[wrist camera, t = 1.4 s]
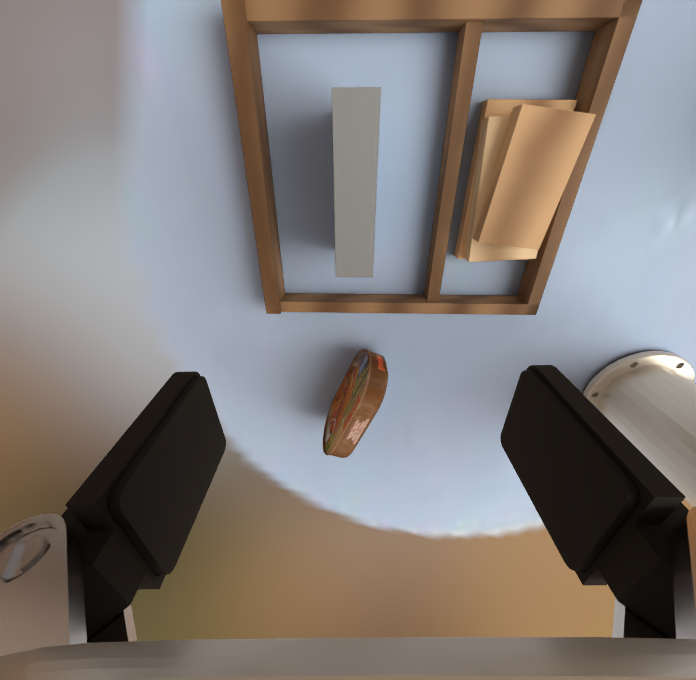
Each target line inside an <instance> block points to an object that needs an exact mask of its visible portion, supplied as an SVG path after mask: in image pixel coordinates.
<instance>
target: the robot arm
mask: <svg viewBox="0 0 696 680" xmlns="http://www.w3.org/2000/svg"><path fill="white" fill-rule="evenodd" d="M501 444H502V447H503V449H504V451H505V452H506V454H507V456H508V458H509V460H510V462H511V464H512V465H513V467H514V469H515V471H516V473H517V475H518V477H519V478H520V480H521V482H522V484H523V486H524V488H525V489H526V491H527V493H528V495H529V497H530V499H531V501H532V502H533V504H534V506H535V508H536V510H537V512H538V514H539V515H540V517H541V519H542V521H543V523H544V525H545V527H546V528H547V530H548V532H549V534H550V536H551V538H552V540H553V541H554V543H555V545H556V547H557V549H558V551H559V553H560V554H561V556H562V558H563V560H564V562H565V563H566V565H567V566H568V567H569V568H570V569H571V570H574V571H575V572H576V574H577V575H578V577H579V579H580V581H581V582H582V584H583V585H607V584H608V586H609V587H610V589H611V590H612V592H613V594H614V596H615V609H614V623H613V635H612V637H611V638H609V637H608V638H607V637H545V638H544V637H530V638H529V637H509V638H508V637H505V638H504V637H503V638H502V637H497V638H496V637H495V638H494V637H490V638H489V637H488V638H486V637H481V638H479V637H476V638H475V637H464V638H463V637H462V638H315V639H313V638H312V639H311V638H310V639H228V640H226V639H225V640H224V639H223V640H163V641H162V640H161V641H137V638H136V632H135V626H134V620H133V615H132V609H131V602H132V600H133V598H134V596H135V594H136V592H137V590H138V589H160V587H161V584H162V582H163V580H164V577H165V575H167V574H170V573H171V572H172V570H173V569H174V567H175V565H176V563H177V560H178V558H179V556H180V554H181V551H182V549H183V547H184V544H185V542H186V540H187V537H188V535H189V532H190V530H191V528H192V526H193V523H194V521H195V519H196V516H197V514H198V511H199V509H200V507H201V504H202V502H203V500H204V498H205V495H206V493H207V491H208V488H209V486H210V484H211V481H212V479H213V477H214V474H215V472H216V470H217V467H218V465H219V463H220V460H221V458H222V456H223V453H224V451H225V447H226V439H225V436H224V433H223V430H222V427H221V424H220V421H219V418H218V415H217V412H216V409H215V406H214V402H213V399H212V396H211V393H210V390H209V387H208V384H207V381H206V379H205V378H204V377H203V376H200V374H199V373H198V372H176V373H174V374H173V375H172V376H171V377H170V378H169V380H168V381H167V382H166V383H165V385H164V386H163V387H162V388H161V389H160V391H159V392H158V393H157V394H156V395H155V397H154V398H153V399H152V400H151V402H150V403H149V404H148V405H147V406H146V408H145V409H144V410H143V411H142V412H141V414H140V415H139V416H138V417H137V419H136V420H135V421H134V422H133V423H132V425H131V426H130V427H129V428H128V429H127V431H126V432H125V433H124V434H123V436H122V437H121V438H120V439H119V441H118V442H117V443H116V444H115V445H114V447H113V448H112V449H111V450H110V451H109V452H108V454H107V455H106V456H105V457H104V459H103V460H102V461H101V462H100V463H99V465H98V466H97V467H96V468H95V470H94V471H93V472H92V473H91V474H90V476H89V477H88V478H87V479H86V480H85V482H84V483H83V484H82V485H81V487H80V488H79V489H78V490H77V491H76V493H75V494H74V495H73V496H72V497H71V499H70V500H69V501H68V502H67V504H66V506H67V507H68V509H67V510H66V511H65V512H64V513H63V515H62V516H61V517H60V516H59V515H57V514H44V515H39V516H34V517H32V518H29V519H27V520H24V521H22V522H20V523H18V524H16V525H14V526H13V527H11V528H9V529H8V530H6V531H4V532H3V533H2V534H0V680H696V383H694V371H693V368H692V366H691V365H690V364H689V363H688V362H687V361H686V360H684V359H683V358H681V357H679V356H678V355H675V354H673V353H670V352H665V351H646V352H640V353H636V354H633V355H629V356H627V357H624V358H622V359H619V360H617V361H615V362H614V363H612V364H610V365H608V366H607V367H606V368H604V369H603V370H601V371H600V372H599V373H598V374H597V375H596V376H595V377H594V378H593V379H592V380H591V381H590V383H589V384H588V385H587V387H586V389H585V391H584V393H583V394H582V393H581V392H580V391H579V390H578V389H577V388H576V387H575V386H574V385H573V384H572V383H571V382H570V381H569V380H568V379H567V378H566V377H565V376H564V375H563V374H562V373H561V372H560V371H559V370H558V369H557V368H556V367H554V366H552V365H532V366H529V367H528V368H527V370H526V371H523V372H522V373H521V375H520V378H519V381H518V384H517V387H516V390H515V393H514V396H513V399H512V402H511V405H510V408H509V411H508V414H507V417H506V420H505V424H504V427H503V430H502V433H501ZM684 499H685V500H686V501H687V502H688V503H689V504H690V505H691V506H692V507H693V508H692V509H691V510H688V509H687V508H686V507H685V506H684V505H683V504H682V503H681V502H682V501H683V500H684Z"/></svg>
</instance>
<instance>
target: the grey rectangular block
mask: <svg viewBox="0 0 696 680" xmlns="http://www.w3.org/2000/svg"><path fill="white" fill-rule="evenodd" d="M380 94H381V87H359V88H332V115H333V165H334V215H335V265H336V277H373V259H374V235H375V212H376V188H377V165H378V141H379V118H380Z"/></svg>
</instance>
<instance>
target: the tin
mask: <svg viewBox="0 0 696 680" xmlns="http://www.w3.org/2000/svg"><path fill="white" fill-rule="evenodd" d="M387 381H388V371H387V366H386V361H385V359H384V357H383V356H381V355H379V354H376V353H373V352H370V351H368V350H367V349H363V350H361V351H360V352H359V353H358V354H357V355H356V357H355V358H354V360H353V362H352V364H351V366H350V368H349V370H348V372H347V374H346V376H345V378H344V380H343V382H342V384H341V386H340V388H339V390H338V392H337V394H336V395H335V397H334V399H333V402H332V404H331V406H330V409H329V412H328V415H327V419H326V423H325V428H324V435H323V451H324V453H325V454H326V455H332V456H337V457H342V458H345V457H348V456H349V455H350V454H351V453H352V452H353V450H354V449H355V447H356V445H357V444H358V442H359V441H360V439H361V437H362V436H363V434H364V432H365V431H366V429H367V428H368V426H369V424H370V423H371V421H372V419H373V418H374V416H375V414H376V413H377V411H378V409H379V407H380V405H381V403H382V401H383V398H384V395H385V391H386V387H387Z"/></svg>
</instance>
